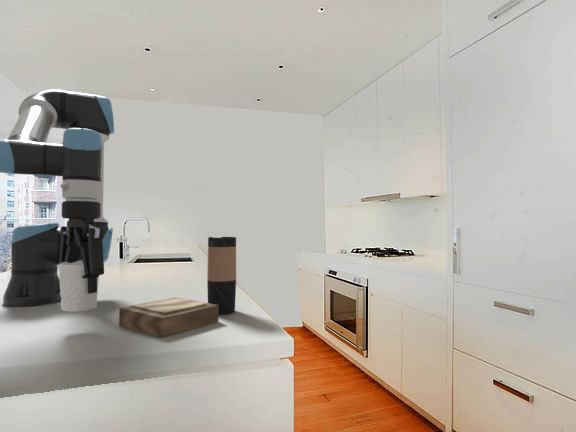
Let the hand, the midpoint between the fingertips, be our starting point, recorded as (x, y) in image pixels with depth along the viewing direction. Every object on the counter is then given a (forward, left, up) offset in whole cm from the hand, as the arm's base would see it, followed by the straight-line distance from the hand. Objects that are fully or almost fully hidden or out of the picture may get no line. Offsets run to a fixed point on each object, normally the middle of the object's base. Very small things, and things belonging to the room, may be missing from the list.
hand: (79, 305), depth 84 cm
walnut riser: (+10, +16, -6) cm, 20 cm away
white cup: (0, 0, -1) cm, 1 cm away
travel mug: (+11, +32, -6) cm, 34 cm away
